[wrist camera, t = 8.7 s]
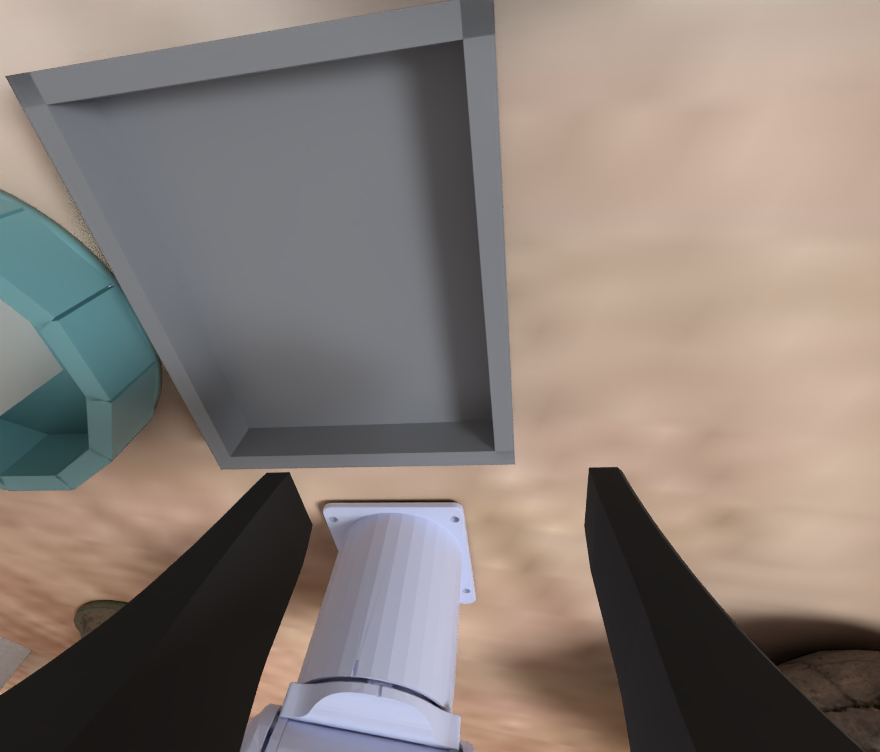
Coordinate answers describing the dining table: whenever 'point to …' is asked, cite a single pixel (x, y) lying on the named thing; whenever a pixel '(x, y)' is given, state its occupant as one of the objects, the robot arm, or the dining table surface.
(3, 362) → the gray rectangular block
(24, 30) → the dining table surface
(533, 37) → the dining table surface
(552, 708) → the dining table surface
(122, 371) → the bowl
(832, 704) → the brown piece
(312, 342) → the parts tray
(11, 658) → the milk carton
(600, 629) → the dining table surface
